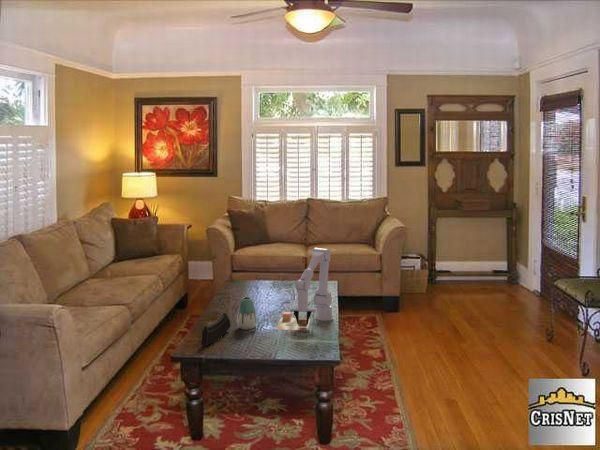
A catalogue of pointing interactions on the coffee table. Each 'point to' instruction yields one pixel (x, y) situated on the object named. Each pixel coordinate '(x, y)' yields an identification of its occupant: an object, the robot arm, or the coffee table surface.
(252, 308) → the vase
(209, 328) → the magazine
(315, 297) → the robot arm
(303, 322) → the walnut block
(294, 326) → the birch board
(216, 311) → the coffee table surface
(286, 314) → the terracotta block
